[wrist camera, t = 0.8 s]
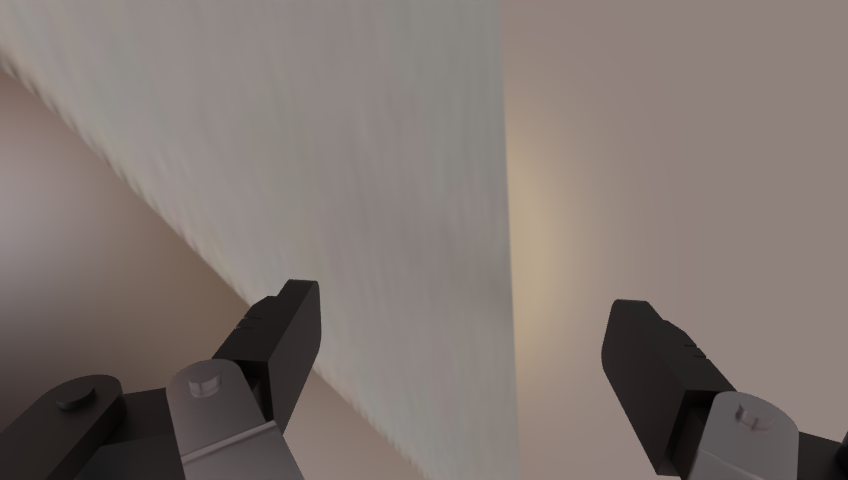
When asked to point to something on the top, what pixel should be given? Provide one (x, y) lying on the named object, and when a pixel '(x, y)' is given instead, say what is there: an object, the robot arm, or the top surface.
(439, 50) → the top surface
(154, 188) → the top surface
